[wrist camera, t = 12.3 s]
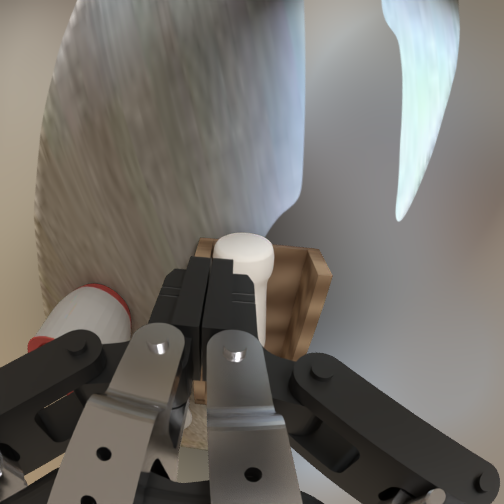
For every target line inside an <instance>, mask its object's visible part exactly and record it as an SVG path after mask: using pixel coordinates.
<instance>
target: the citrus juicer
mask: <svg viewBox="0 0 504 504" xmlns="http://www.w3.org/2000/svg"><path fill="white" fill-rule="evenodd" d="M78 329H84V330H89V331H92V332H94V333H95V334H96V335H97V336H98V337H99V338H100V340H101V343H102V344H109V343H120V342H126V341H129V340H130V337H131V316H130V311H129V308H128V306H127V304H126V303H125V301H124V300H123V299H122V298H121V297H120V295H118V294H117V293H116V292H115V291H113V290H112V289H110V288H108V287H106V286H104V285H100V284H87V285H84V286H81V287H79V288H77V289H75V290H74V291H73V292H71V293H70V294H68V295H67V296H66V297H65V298H63V299H62V300H61V301H60V302H59V303H58V304H57V305H56V307H55V308H54V309H53V311H52V312H51V313H50V315H49V316H48V318H47V319H46V321H45V322H44V323H43V325H42V326H41V328H40V329H39V331H38V332H37V334H36V335H35V337H33V338H32V339H31V340H30V341H29V343H28V353H29V352H31V351H33V350H35V349H37V348H39V347H41V346H42V345H44V344H46V343H48V342H50V341H52V340H54V339H56V338H58V337H60V336H62V335H64V334H66V333H68V332H70V331H73V330H78ZM72 392H73V391H72ZM72 392H70V393H72ZM70 393H68V394H70ZM68 394H67V395H68Z"/></svg>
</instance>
